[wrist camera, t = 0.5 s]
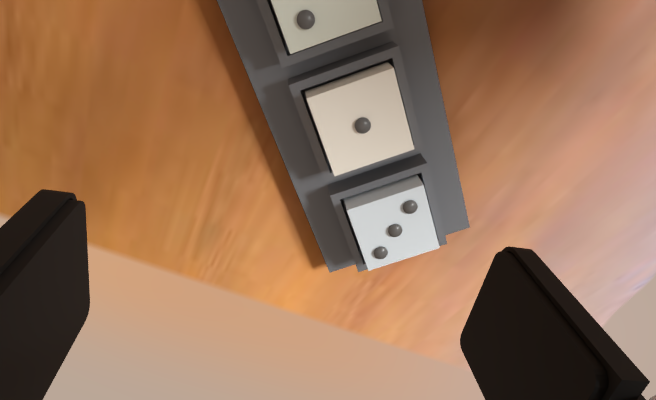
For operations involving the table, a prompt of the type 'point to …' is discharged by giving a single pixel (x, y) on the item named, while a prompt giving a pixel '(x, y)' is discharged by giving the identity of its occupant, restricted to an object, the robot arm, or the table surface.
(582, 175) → the table surface
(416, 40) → the button board
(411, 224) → the tile three
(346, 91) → the tile one
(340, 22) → the tile two
